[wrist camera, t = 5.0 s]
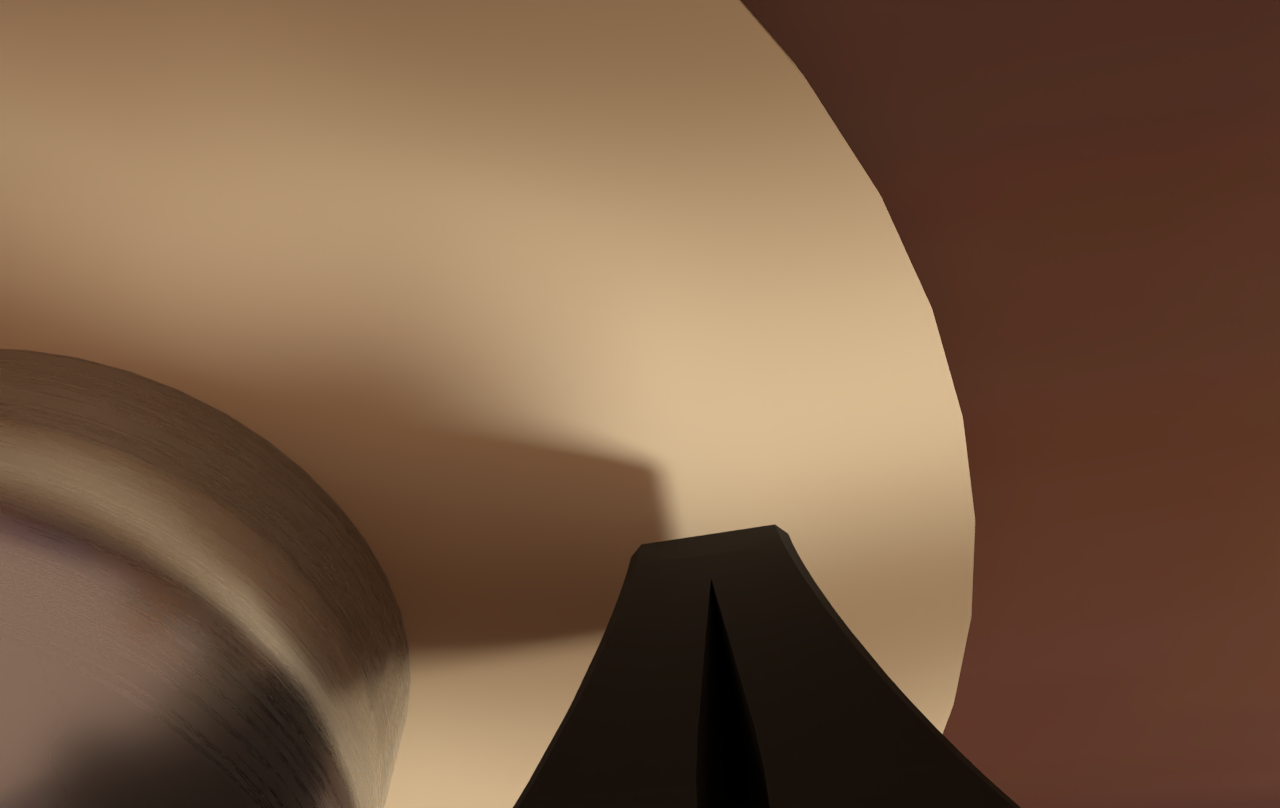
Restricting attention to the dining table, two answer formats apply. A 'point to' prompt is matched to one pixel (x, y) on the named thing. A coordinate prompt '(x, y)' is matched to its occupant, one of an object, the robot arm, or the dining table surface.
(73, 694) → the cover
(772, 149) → the disc
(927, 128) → the dining table surface
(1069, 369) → the dining table surface
